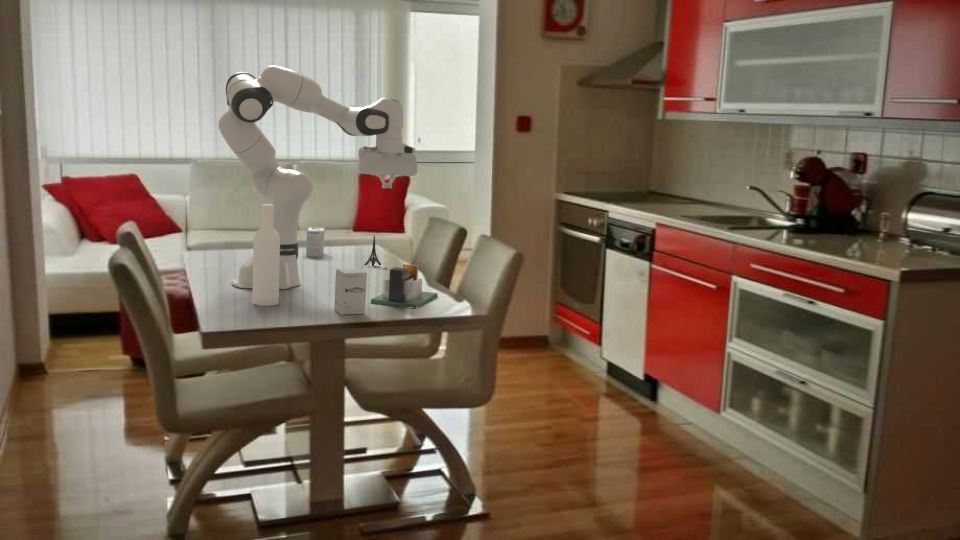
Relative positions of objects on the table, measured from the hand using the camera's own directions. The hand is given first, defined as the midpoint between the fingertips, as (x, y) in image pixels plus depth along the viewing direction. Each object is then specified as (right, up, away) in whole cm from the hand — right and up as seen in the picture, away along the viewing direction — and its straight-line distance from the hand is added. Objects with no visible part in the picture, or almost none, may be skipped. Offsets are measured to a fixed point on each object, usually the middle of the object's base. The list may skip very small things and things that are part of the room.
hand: (386, 188), depth 292 cm
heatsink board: (+7, -37, -14) cm, 41 cm away
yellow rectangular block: (+7, -35, -16) cm, 39 cm away
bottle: (-33, -38, -32) cm, 60 cm away
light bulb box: (-37, -22, +66) cm, 78 cm away
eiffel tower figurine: (-10, -27, +47) cm, 55 cm away
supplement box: (-7, -41, -37) cm, 55 cm away
